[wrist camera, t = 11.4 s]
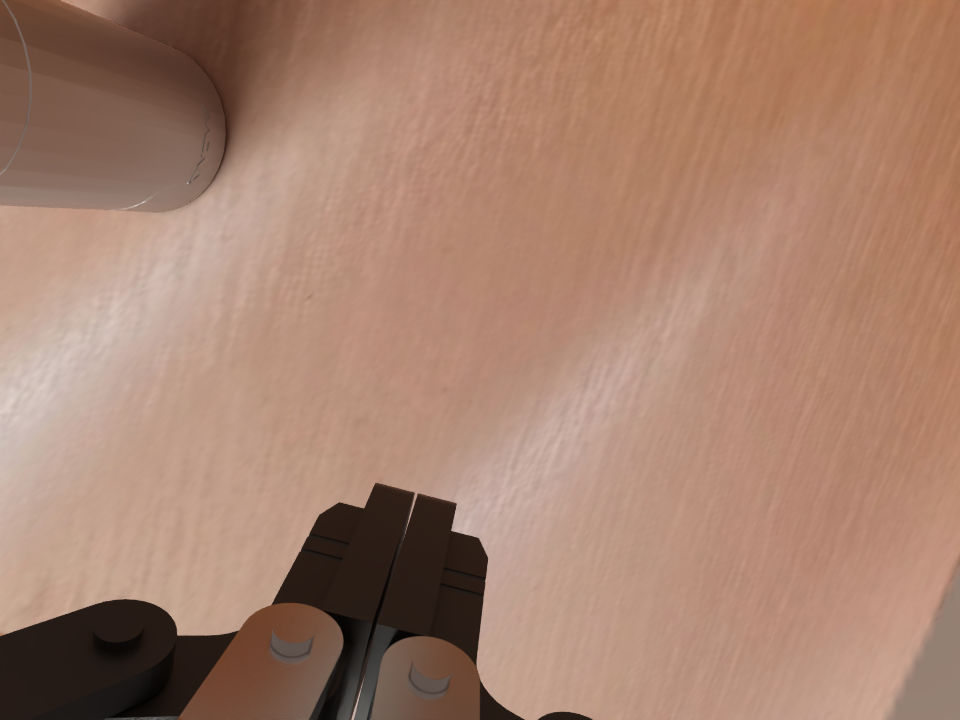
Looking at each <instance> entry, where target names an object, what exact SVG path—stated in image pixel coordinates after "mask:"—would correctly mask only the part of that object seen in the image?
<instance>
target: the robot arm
mask: <svg viewBox="0 0 960 720" xmlns="http://www.w3.org/2000/svg"><path fill="white" fill-rule="evenodd" d="M225 139H226V127H225V115H224V112H223V108H222V104H221V100H220V97H219V95H218V93H217V91H216V89H215V87H214V85H213V83H212V81H211V80H210V78H209V77H208V76H207V74H206V73H205V72H204V70H203V69H202V68H201V67H200V66H199V65H198V64H197V63H196V62H195V61H194V60H192V59H191V58H190V57H189V56H188V55H186V54H184V53H182V52H180V51H179V50H177V49H175V48H173V47H171V46H168V45H166V44H164V43H161V42H159V41H156V40H154V39H152V38H149V37H147V36H144V35H142V34H140V33H137V32H135V31H133V30H131V29H128V28H126V27H124V26H121V25H119V24H116V23H114V22H111V21H109V20H107V19H104V18H102V17H99V16H97V15H94V14H92V13H90V12H87V11H85V10H82V9H80V8H78V7H75V6H73V5H70V4H68V3H65V2H63V1H61V0H0V205H2V206H25V207H49V208H72V209H96V210H114V211H137V212H163V211H170V210H174V209H177V208H179V207H182V206H184V205H187V204H188V203H190V202H191V201H192V200H194V199H195V198H197V197H198V196H200V194H201V193H202V192H203V191H204V190H205V189H206V188H207V187H208V185H209V184H210V183H211V181H212V180H213V178H214V176H215V174H216V173H217V171H218V169H219V166H220V163H221V160H222V157H223V154H224V148H225ZM414 494H415V493H414V492H410V491H406V490H402V489H398V488H395V487H391V486H387V485H383V484H379V483H375V485H374V487H373V490H372V492H371V494H370V497H369V499H368V501H367V503H366V506H365V508H364V509H363V508H359V507H355V506H352V505H348V504H344V503H340V502H339V503H337V504H336V505H334V506H333V507H331V508H330V509H328V510H326V511H325V512H323V513H322V514H320V515H319V517H318V518H317V520H316V522H315V524H314V526H313V528H312V530H311V532H310V534H309V537H307V539H306V541H305V543H304V545H303V547H302V549H301V552H299V554H298V556H297V558H296V560H295V562H294V563H293V565H292V567H291V569H290V571H289V573H288V575H287V577H286V578H285V580H284V582H283V584H282V586H281V588H280V590H279V592H278V593H277V595H276V597H275V599H274V601H273V603H272V605H271V606H268V607H265V608H262V609H260V610H259V611H257V612H255V613H254V614H253V615H251V616H250V617H249V618H248V619H247V620H246V622H245V623H244V624H243V626H242V627H241V629H240V630H239V631H236V632H232V633H228V634H222V635H210V636H177V628H176V625H175V622H174V620H173V619H172V617H171V616H170V615H169V614H168V613H167V612H166V611H165V610H163V609H162V608H160V607H158V606H156V605H154V604H151V603H148V602H145V601H139V600H128V599H123V600H112V601H106V602H102V603H98V604H95V605H92V606H89V607H86V608H83V609H80V610H77V611H74V612H71V613H68V614H65V615H62V616H59V617H56V618H53V619H50V620H47V621H44V622H41V623H38V624H35V625H32V626H29V627H26V628H23V629H20V630H17V631H14V632H11V633H9V634H6V635H3V636H0V720H351V718H352V715H353V712H354V709H355V705H356V702H357V699H358V696H359V692H360V689H361V686H362V689H361V693H360V697H359V701H358V705H357V710H356V714H355V718H354V720H524V719H523V718H521V717H519V716H517V715H515V714H514V713H512V712H510V711H509V710H507V709H506V708H504V707H503V706H502V705H500V704H499V703H498V702H497V701H496V700H495V699H494V698H493V697H492V696H491V695H490V694H489V693H488V692H487V690H486V689H485V688H484V686H483V684H482V682H481V681H480V678H479V673H478V670H477V666H476V661H477V651H478V642H479V633H480V625H481V616H482V607H483V596H484V590H485V579H486V572H487V564H488V557H487V555H486V553H485V550H484V548H483V546H482V544H481V542H480V540H479V538H477V537H473V536H469V535H465V534H461V533H457V532H453V531H451V529H452V524H453V519H454V515H455V510H456V505H457V503H453V502H450V501H446V500H442V499H438V498H434V497H430V496H426V495H422V494H418V495H417V498H416V501H415V505H414V508H413V511H412V514H411V518H410V521H409V524H408V520H409V515H410V511H411V507H412V503H413V499H414ZM407 524H408V527H407ZM406 528H407V530H406ZM405 532H406V534H405ZM404 536H405V537H404ZM364 676H365V677H364ZM363 679H364V681H363ZM362 682H363V685H362ZM538 720H592V719H590V718H588V717H586V716H583V715H580V714H576V713H572V712H554V713H550V714H547V715H545V716H543V717H541V718H539V719H538Z"/></svg>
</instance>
